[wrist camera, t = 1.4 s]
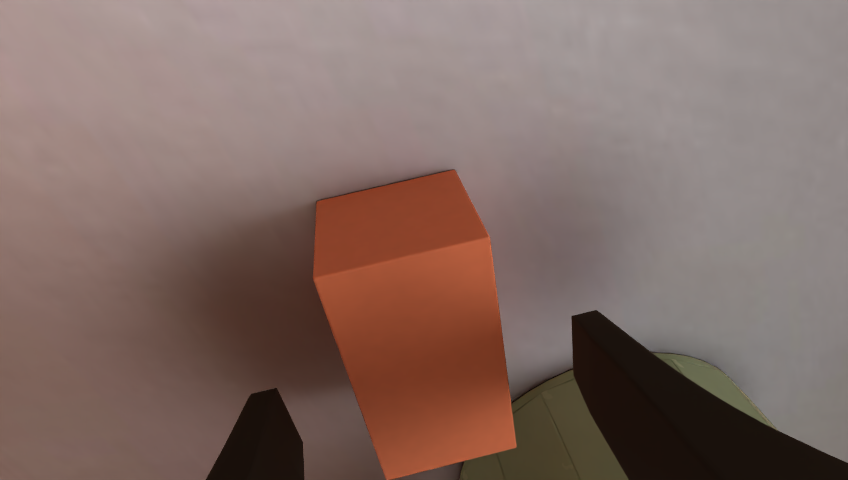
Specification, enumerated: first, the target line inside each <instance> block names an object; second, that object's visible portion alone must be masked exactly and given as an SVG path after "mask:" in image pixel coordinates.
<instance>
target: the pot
mask: <svg viewBox="0 0 848 480" xmlns="http://www.w3.org/2000/svg"><path fill="white" fill-rule="evenodd" d="M653 354H654V355H656V356H657V357H658V358H660V359H661V360H663V361H664V362H666V363H667V364H668V365H670V366H671V367H673V368H674V369H675V370H677V371H678V372H680V373H681V374H683V375H684V376H686V377H687V378H689V379H690V380H692V381H693V382H695V383H696V384H698V385H699V386H701V387H702V388H704V389H706V390H707V391H709V392H710V393H712V394H713V395H715V396H717V397H718V398H720V399H722V400H723V401H725V402H727V403H728V404H730V405H732V406H733V407H735V408H737V409H739V410H740V411H742V412H744V413H746V414H748V415H749V416H751V417H753V418H755V419H757V420H758V421H760V422H762V423H764V424H766V425H768V426H770V427H772V428H774V429H776V428H775V427H774V426H773V424H772V423H771V422H770V421H769V420H768V419H767V418H766V417H765V415H764V414H763V413H762V412H761V411H760V410H759V409H758V408H757V406H756V405H755V404H754V403H753V402H752V401H751V400H750V399H749V397H748V396H747V395H746V394H745V393H744V392H742V391H741V390H740V389H739V388H738V387H737V386H736V385H735V384H734V382H733V381H732V380H731V379H730V378H729V377H728V376H727V375H726V374H724V373H723V372H722V371H721V370H719V369H718V368H716V367H714V366H712V365H710V364H708V363H706V362H704V361H701V360H698V359H695V358H692V357H688V356H682V355H676V354H666V353H653ZM511 406H512V414H513V422H514V430H515V438H516V445H517V446H516V448H513V449H509V450H505V451H501V452H497V453H493V454H490V455H486V456H482V457H478V458H474V459H470V460H466V461H464V464H463V467H462V470H461V474H460V480H629V479H628V478H627V476H626V474H625V473H624V471H623V469H622V467H621V466H620V464H619V462H618V461H617V459H616V457H615V456H614V454H613V452H612V450H611V449H610V447H609V445H608V444H607V442H606V440H605V438H604V437H603V435H602V433H601V432H600V430H599V428H598V426H597V425H596V423H595V421H594V419H593V418H592V416H591V414H590V412H589V410H588V408H587V405H586V403H585V401H584V399H583V396H582V394H581V392H580V389H579V387H578V385H577V382H576V380H575V378H574V375H573V370H570V371H568V372H566V373H563V374H561V375H559V376H557V377H555V378H553V379H551V380H548V381H546V382H545V383H543V384H541V385H540V386H538V387H536V388H534V389H533V390H531V391H529V392H528V393H526V394H525V395H523V396H522V397H520V398H519V399H518V400H516V401H515V402H513V403H512V404H511ZM776 430H777V429H776Z"/></svg>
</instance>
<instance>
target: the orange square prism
mask: <svg viewBox="0 0 848 480" xmlns="http://www.w3.org/2000/svg"><path fill="white" fill-rule="evenodd" d="M313 280H314V283H315V286H316V289H317V291H318V294H319V297H320V300H321V302H322V305H323V308H324V311H325V313H326V316H327V319H328V322H329V324H330V327H331V330H332V333H333V335H334V338H335V341H336V344H337V346H338V349H339V352H340V355H341V357H342V360H343V363H344V366H345V368H346V371H347V374H348V377H349V379H350V382H351V385H352V388H353V390H354V393H355V396H356V399H357V401H358V404H359V407H360V410H361V412H362V415H363V418H364V421H365V423H366V426H367V429H368V432H369V434H370V437H371V440H372V443H373V445H374V448H375V451H376V454H377V456H378V459H379V462H380V465H381V467H382V470H383V473H384V476H385V478H386V480H391V479H395V478H399V477H403V476H407V475H411V474H415V473H419V472H423V471H427V470H430V469H434V468H438V467H442V466H446V465H450V464H454V463H458V462H462V461H466V460H470V459H474V458H478V457H482V456H486V455H490V454H493V453H497V452H501V451H505V450H509V449H513V448H516V446H517V445H516V438H515V430H514V422H513V414H512V406H511V398H510V391H509V383H508V375H507V367H506V359H505V352H504V344H503V336H502V328H501V320H500V313H499V305H498V297H497V289H496V281H495V274H494V266H493V258H492V250H491V242H490V237H489V235H488V233H487V231H486V229H485V227H484V225H483V223H482V221H481V219H480V217H479V215H478V213H477V212H476V210H475V208H474V206H473V204H472V202H471V200H470V198H469V196H468V194H467V192H466V190H465V188H464V186H463V184H462V183H461V181H460V179H459V177H458V175H457V173H456V171H455V170H451V171H446V172H442V173H438V174H433V175H429V176H425V177H420V178H416V179H412V180H407V181H403V182H399V183H394V184H390V185H386V186H381V187H377V188H373V189H368V190H364V191H360V192H355V193H351V194H347V195H342V196H338V197H334V198H329V199H325V200H321V201H317V203H316V224H315V246H314V269H313Z"/></svg>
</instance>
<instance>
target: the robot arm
mask: <svg viewBox="0 0 848 480" xmlns="http://www.w3.org/2000/svg"><path fill="white" fill-rule="evenodd" d="M572 344H573V375H574V378H575V380H576V382H577V385H578V387H579V389H580V392H581V394H582V396H583V399H584V401H585V403H586V405H587V408H588V410H589V412H590V414H591V416H592V418H593V419H594V421H595V423H596V425H597V426H598V428H599V430H600V432H601V433H602V435H603V437H604V438H605V440H606V442H607V444H608V445H609V447H610V449H611V450H612V452H613V454H614V456H615V457H616V459H617V461H618V462H619V464H620V466H621V467H622V469H623V471H624V473H625V474H626V476H627V478H628V479H629V480H848V463H847V462H844V461H842V460H840V459H837V458H835V457H833V456H830V455H828V454H826V453H824V452H822V451H820V450H817V449H815V448H813V447H811V446H809V445H807V444H805V443H803V442H801V441H798V440H796V439H794V438H792V437H790V436H788V435H786V434H784V433H782V432H780V431H778V430H776V429H774V428H772V427H770V426H768V425H766V424H764V423H762V422H760V421H758V420H757V419H755V418H753V417H751V416H749V415H748V414H746V413H744V412H742V411H740V410H739V409H737V408H735V407H733V406H732V405H730V404H728V403H727V402H725V401H723V400H722V399H720V398H718V397H717V396H715V395H713V394H712V393H710V392H709V391H707V390H706V389H704V388H702V387H701V386H699V385H698V384H696V383H695V382H693V381H692V380H690V379H689V378H687V377H686V376H684V375H683V374H681V373H680V372H678V371H677V370H675V369H674V368H673V367H671V366H670V365H668V364H667V363H666V362H664V361H663V360H661V359H660V358H658V357H657V356H656V355H654V354H653V353H652V352H650V351H649V350H648V349H646V348H645V347H643V346H642V345H641V344H640V343H638V342H637V341H636V340H634V339H633V338H632V337H630V336H629V335H628V334H627V333H625V332H624V331H623V330H621V329H620V328H619V327H618V326H616V325H615V324H614V323H613V322H611V321H610V320H609V319H607V318H606V317H605V316H604V315H602V314H601V313H600V312H598V311H597V310H595V311H591V312H587V313H582V314H578V315H574V316H572ZM206 480H304V458H303V442H302V439H301V437H300V435H299V433H298V431H297V429H296V427H295V425H294V423H293V421H292V419H291V417H290V415H289V412H288V410H287V408H286V406H285V404H284V402H283V400H282V398H281V396H280V394H279V392H278V390H277V388H274V389H270V390H266V391H262V392H258V393H253V394H251V395H250V397H249V398H248V400H247V402H246V404H245V406H244V408H243V410H242V412H241V414H240V416H239V418H238V420H237V422H236V424H235V426H234V428H233V430H232V432H231V434H230V436H229V438H228V440H227V441H226V443H225V445H224V447H223V449H222V451H221V453H220V455H219V457H218V458H217V460H216V462H215V464H214V466H213V468H212V469H211V471H210V473H209V475H208V477H207V479H206Z"/></svg>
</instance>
